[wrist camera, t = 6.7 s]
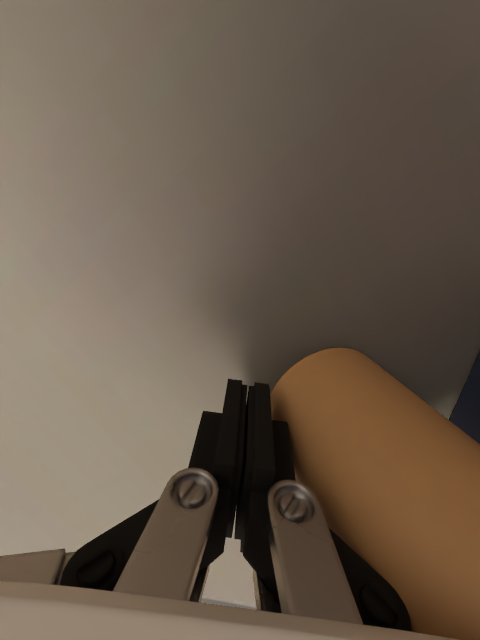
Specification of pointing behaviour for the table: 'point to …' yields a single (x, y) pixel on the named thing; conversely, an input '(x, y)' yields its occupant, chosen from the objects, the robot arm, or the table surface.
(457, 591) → the orange-brown cylinder
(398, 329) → the table surface
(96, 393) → the table surface
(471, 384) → the navy box
